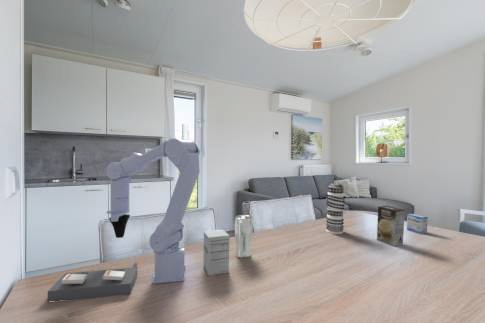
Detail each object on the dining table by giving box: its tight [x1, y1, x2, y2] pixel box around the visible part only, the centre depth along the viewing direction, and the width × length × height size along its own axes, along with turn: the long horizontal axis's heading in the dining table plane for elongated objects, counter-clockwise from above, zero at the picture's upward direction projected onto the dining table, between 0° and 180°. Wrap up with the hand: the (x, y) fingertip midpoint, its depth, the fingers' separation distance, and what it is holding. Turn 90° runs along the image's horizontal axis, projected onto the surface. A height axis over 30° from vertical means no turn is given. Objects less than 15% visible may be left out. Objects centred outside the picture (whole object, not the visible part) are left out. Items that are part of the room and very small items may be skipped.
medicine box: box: [406, 213, 429, 235], centre depth 131 cm, size 8×4×9 cm, turn 25°
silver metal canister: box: [234, 214, 253, 259], centre depth 96 cm, size 7×7×15 cm
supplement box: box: [203, 228, 230, 276], centre depth 84 cm, size 7×7×13 cm
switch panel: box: [47, 262, 138, 302], centre depth 75 cm, size 20×18×3 cm
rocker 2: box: [103, 269, 125, 280], centre depth 70 cm, size 5×3×1 cm, turn 104°
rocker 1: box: [62, 274, 87, 284], centre depth 68 cm, size 5×3×1 cm, turn 103°
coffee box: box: [376, 205, 406, 247], centre depth 113 cm, size 9×6×16 cm
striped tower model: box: [325, 182, 346, 235], centre depth 128 cm, size 9×9×25 cm
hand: (119, 237), depth 84 cm, fingers closed
